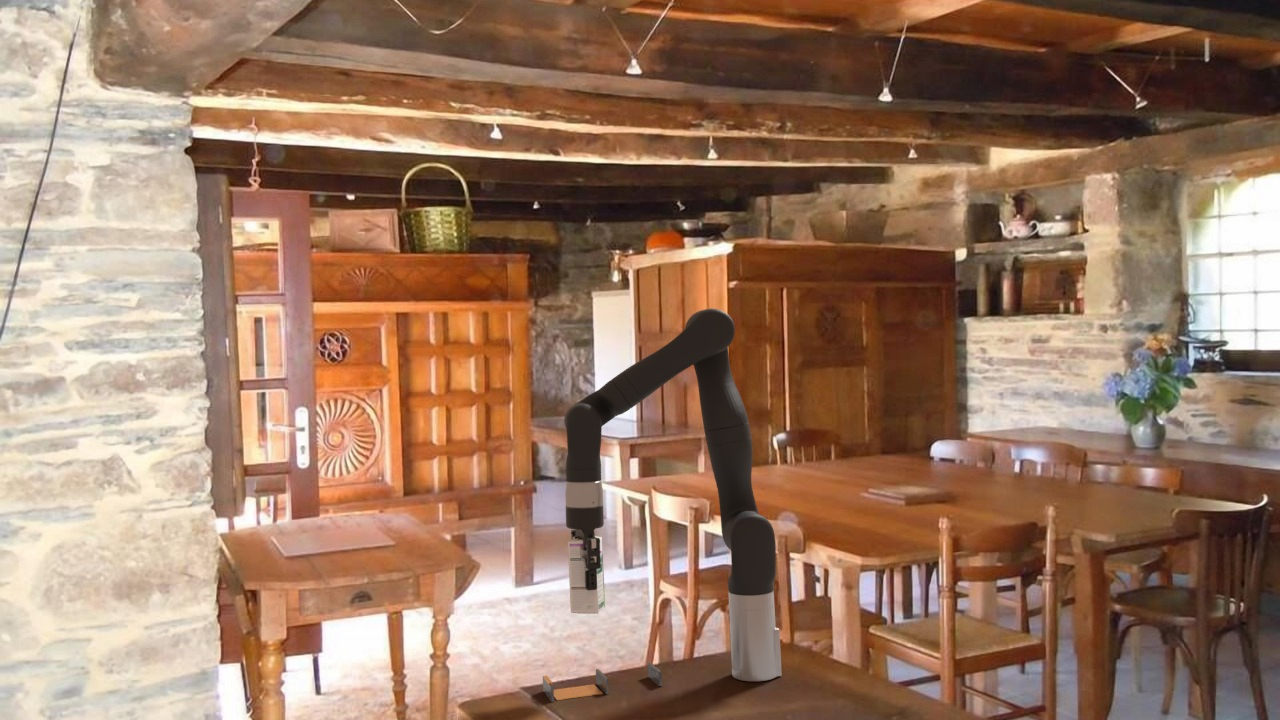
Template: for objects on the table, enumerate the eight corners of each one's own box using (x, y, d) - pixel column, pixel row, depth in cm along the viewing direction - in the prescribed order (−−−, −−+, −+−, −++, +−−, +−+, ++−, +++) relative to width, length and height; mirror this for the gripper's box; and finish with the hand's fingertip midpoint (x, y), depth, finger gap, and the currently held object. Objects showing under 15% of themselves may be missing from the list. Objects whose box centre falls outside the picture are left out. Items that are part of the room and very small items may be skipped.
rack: (650, 676, 221) (649, 660, 221) (662, 686, 214) (661, 669, 214) (542, 691, 215) (541, 674, 215) (551, 702, 207) (550, 684, 207)
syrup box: (598, 614, 211) (596, 539, 211) (569, 613, 212) (567, 539, 212) (605, 607, 216) (603, 535, 216) (577, 607, 217) (575, 535, 218)
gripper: (612, 506, 208) (614, 591, 208) (593, 498, 222) (595, 578, 222) (574, 508, 206) (576, 594, 206) (558, 500, 220) (559, 581, 220)
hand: (586, 586), depth 214 cm, fingers closed on syrup box, 7 cm apart
